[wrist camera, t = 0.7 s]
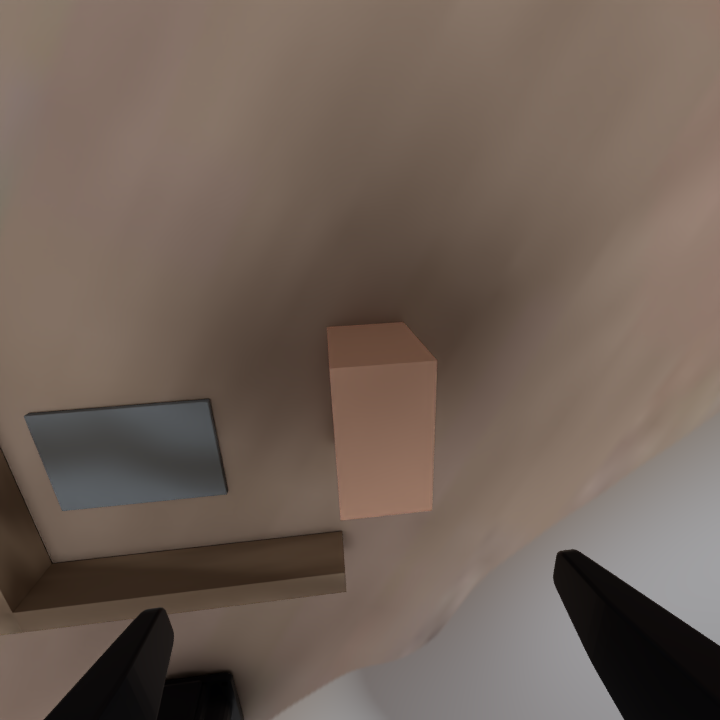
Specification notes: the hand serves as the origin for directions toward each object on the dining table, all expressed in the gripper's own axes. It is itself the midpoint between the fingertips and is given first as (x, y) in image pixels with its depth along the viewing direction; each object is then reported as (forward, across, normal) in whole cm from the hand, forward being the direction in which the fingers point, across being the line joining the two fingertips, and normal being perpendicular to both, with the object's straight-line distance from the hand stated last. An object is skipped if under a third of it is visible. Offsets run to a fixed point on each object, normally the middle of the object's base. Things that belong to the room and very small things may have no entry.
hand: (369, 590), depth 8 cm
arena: (+12, +10, +3) cm, 16 cm away
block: (+12, -1, 0) cm, 12 cm away
